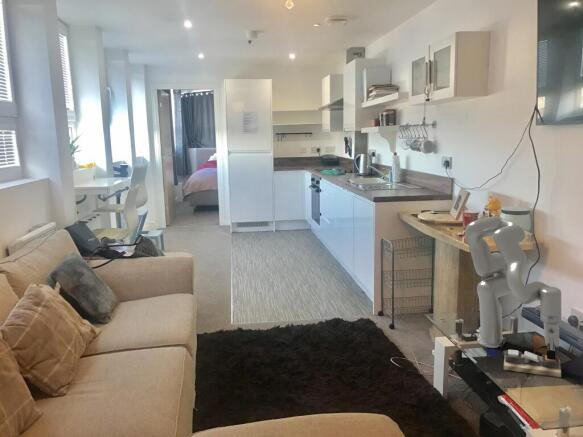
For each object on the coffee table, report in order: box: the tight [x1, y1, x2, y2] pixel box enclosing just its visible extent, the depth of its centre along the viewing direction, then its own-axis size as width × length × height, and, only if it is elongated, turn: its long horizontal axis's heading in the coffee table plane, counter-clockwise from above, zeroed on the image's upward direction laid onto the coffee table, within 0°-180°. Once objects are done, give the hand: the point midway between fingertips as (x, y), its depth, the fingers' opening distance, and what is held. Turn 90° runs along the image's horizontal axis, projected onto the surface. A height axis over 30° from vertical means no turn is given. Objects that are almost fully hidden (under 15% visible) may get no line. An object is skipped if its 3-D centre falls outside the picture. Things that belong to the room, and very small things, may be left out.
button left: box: [508, 349, 520, 358], centre depth 197 cm, size 4×4×2 cm
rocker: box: [524, 350, 539, 362], centre depth 194 cm, size 6×4×1 cm
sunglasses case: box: [531, 333, 547, 356], centre depth 207 cm, size 18×7×7 cm
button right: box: [545, 355, 556, 362], centre depth 190 cm, size 4×4×2 cm
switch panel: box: [503, 349, 562, 378], centre depth 194 cm, size 21×12×4 cm, turn 63°
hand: (551, 358), depth 190 cm, fingers closed
